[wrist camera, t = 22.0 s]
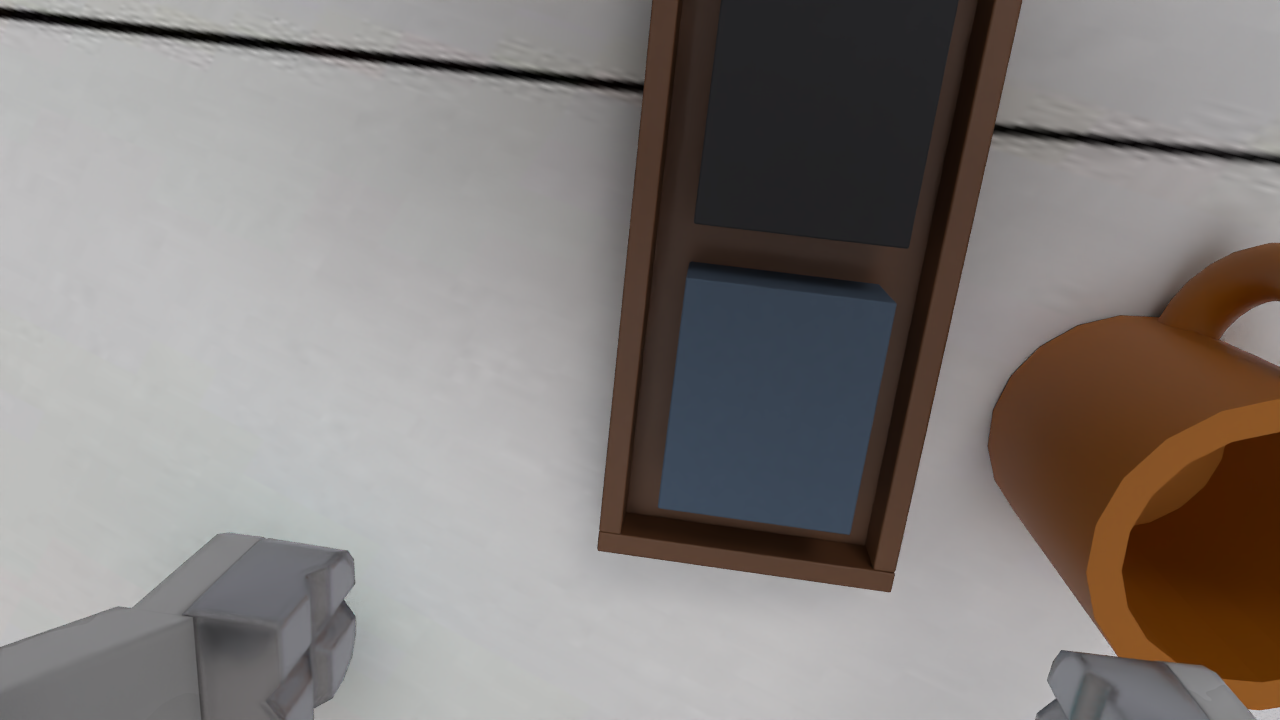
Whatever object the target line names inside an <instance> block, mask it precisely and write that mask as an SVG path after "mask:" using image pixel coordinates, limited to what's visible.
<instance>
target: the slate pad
mask: <svg viewBox="0 0 1280 720" xmlns="http://www.w3.org/2000/svg"><path fill="white" fill-rule="evenodd" d="M896 306H897V304H896V303H895V301H894V300H893V299H892V298H891V297H890V296H889V295H888V294H887V293H886V292H885V291H884V289H883V288H882V287H881V286H880V285H879V284H873V283H864V282H856V281H848V280H840V279H831V278H823V277H815V276H807V275H799V274H790V273H782V272H774V271H766V270H758V269H749V268H741V267H733V266H725V265H716V264H708V263H700V262H692V261H691V262H690V263H689V267H688V272H687V276H686V282H685V290H684V299H683V307H682V315H681V323H680V331H679V339H678V347H677V355H676V363H675V371H674V379H673V387H672V395H671V403H670V411H669V419H668V427H667V436H666V444H665V452H664V460H663V468H662V476H661V484H660V492H659V500H658V508H661V509H668V510H675V511H682V512H689V513H696V514H703V515H710V516H718V517H725V518H732V519H739V520H746V521H753V522H760V523H768V524H775V525H782V526H789V527H796V528H803V529H810V530H817V531H825V532H832V533H839V534H846V535H850V533H851V528H852V523H853V518H854V513H855V508H856V503H857V498H858V494H859V489H860V484H861V479H862V474H863V469H864V464H865V459H866V454H867V449H868V444H869V439H870V434H871V429H872V424H873V419H874V415H875V410H876V405H877V400H878V395H879V390H880V385H881V380H882V375H883V370H884V365H885V360H886V355H887V350H888V345H889V340H890V336H891V331H892V326H893V321H894V316H895V311H896Z"/></svg>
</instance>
